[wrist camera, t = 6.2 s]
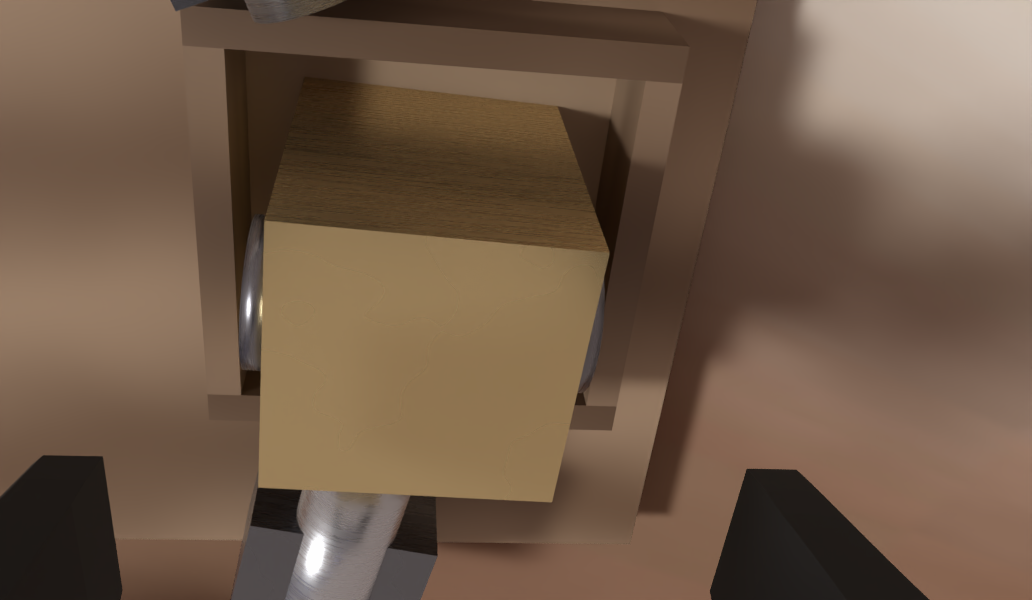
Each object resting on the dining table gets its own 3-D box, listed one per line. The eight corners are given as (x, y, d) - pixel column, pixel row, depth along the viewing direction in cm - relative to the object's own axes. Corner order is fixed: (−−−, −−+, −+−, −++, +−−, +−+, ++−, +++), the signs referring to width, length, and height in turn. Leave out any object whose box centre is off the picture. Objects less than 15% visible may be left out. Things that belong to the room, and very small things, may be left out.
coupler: (578, 108, 18) (639, 255, 13) (537, 315, 20) (576, 503, 15) (281, 74, 17) (231, 217, 12) (274, 293, 19) (230, 486, 14)
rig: (622, 515, 25) (646, 609, 22) (-7, 505, 23) (-60, 608, 20) (794, -253, 16) (867, -243, 13) (-211, -379, 14) (-352, -397, 11)
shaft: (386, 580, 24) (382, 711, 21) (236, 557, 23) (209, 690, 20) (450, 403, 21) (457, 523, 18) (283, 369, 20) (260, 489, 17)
